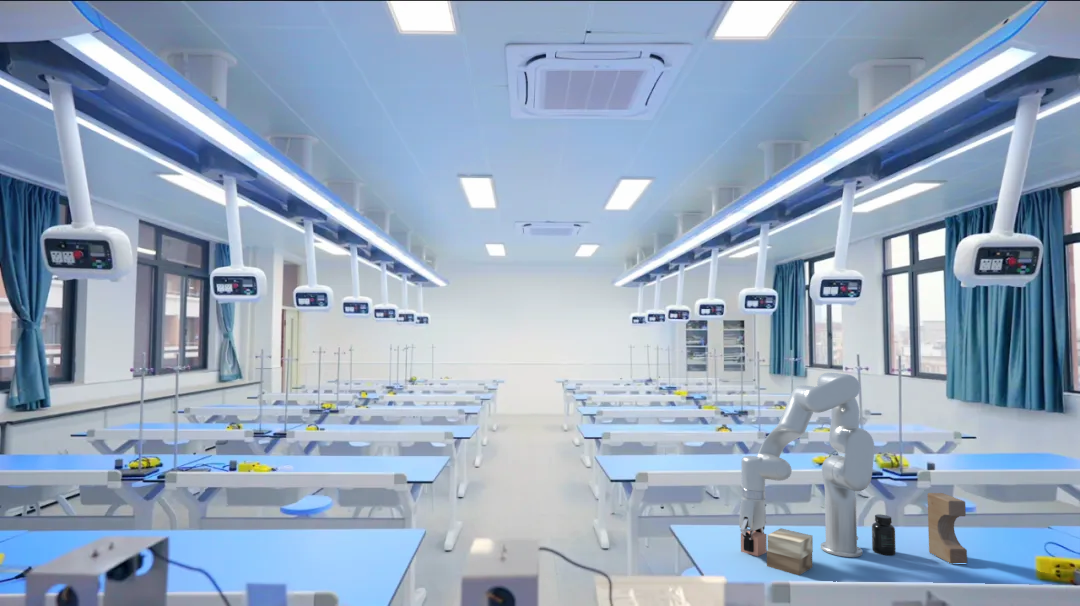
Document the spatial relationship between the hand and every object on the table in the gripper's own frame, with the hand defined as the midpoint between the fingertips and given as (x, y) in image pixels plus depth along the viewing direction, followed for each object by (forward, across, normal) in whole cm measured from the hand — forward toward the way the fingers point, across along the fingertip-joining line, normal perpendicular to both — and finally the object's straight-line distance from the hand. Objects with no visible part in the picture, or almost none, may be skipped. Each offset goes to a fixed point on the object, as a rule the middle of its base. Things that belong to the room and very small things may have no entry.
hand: (753, 548), depth 200 cm
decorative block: (+1, -44, +45) cm, 63 cm away
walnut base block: (+1, +4, +14) cm, 15 cm away
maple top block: (-4, +4, +14) cm, 15 cm away
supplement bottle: (+1, -34, +29) cm, 45 cm away
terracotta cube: (+1, 0, 0) cm, 1 cm away
